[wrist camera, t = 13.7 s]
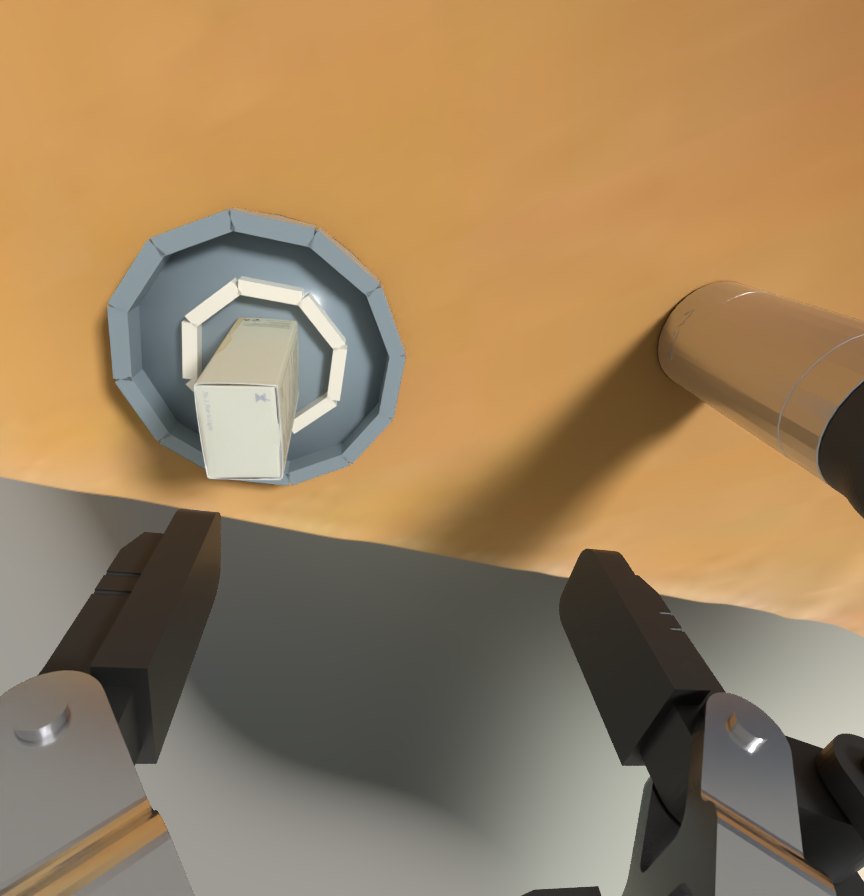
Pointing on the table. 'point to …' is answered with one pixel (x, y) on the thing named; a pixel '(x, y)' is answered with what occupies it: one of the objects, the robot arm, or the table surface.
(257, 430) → the skincare box
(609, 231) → the table surface
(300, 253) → the ring tray
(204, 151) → the table surface
